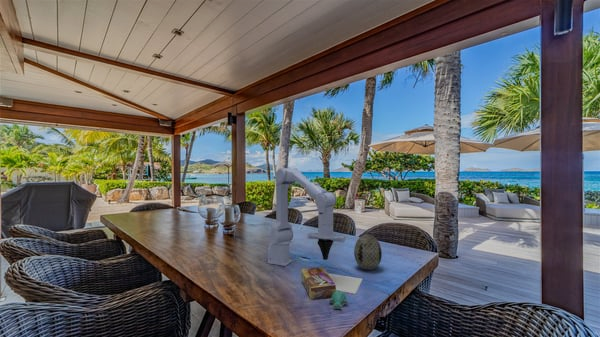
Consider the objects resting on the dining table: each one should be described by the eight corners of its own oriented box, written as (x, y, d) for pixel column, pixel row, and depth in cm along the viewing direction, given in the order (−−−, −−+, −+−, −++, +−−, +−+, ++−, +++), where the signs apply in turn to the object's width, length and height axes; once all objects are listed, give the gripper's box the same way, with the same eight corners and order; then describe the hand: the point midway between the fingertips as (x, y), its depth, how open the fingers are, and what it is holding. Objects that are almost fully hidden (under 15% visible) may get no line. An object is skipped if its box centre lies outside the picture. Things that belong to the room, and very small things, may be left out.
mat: (313, 286, 98) (313, 285, 98) (324, 273, 111) (324, 272, 111) (355, 294, 92) (355, 293, 92) (362, 279, 105) (362, 278, 105)
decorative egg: (348, 269, 116) (349, 234, 117) (362, 262, 125) (362, 230, 125) (373, 276, 108) (373, 239, 109) (386, 268, 117) (386, 234, 117)
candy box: (301, 280, 103) (310, 299, 88) (301, 269, 103) (310, 286, 88) (323, 278, 105) (336, 296, 90) (323, 267, 105) (336, 284, 90)
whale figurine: (348, 301, 87) (348, 289, 87) (346, 312, 80) (346, 299, 80) (330, 299, 89) (330, 287, 89) (327, 310, 82) (327, 297, 82)
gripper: (346, 223, 105) (346, 258, 104) (311, 220, 110) (311, 253, 110) (342, 226, 98) (342, 264, 98) (305, 223, 104) (305, 258, 103)
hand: (325, 259), depth 103 cm, fingers closed
